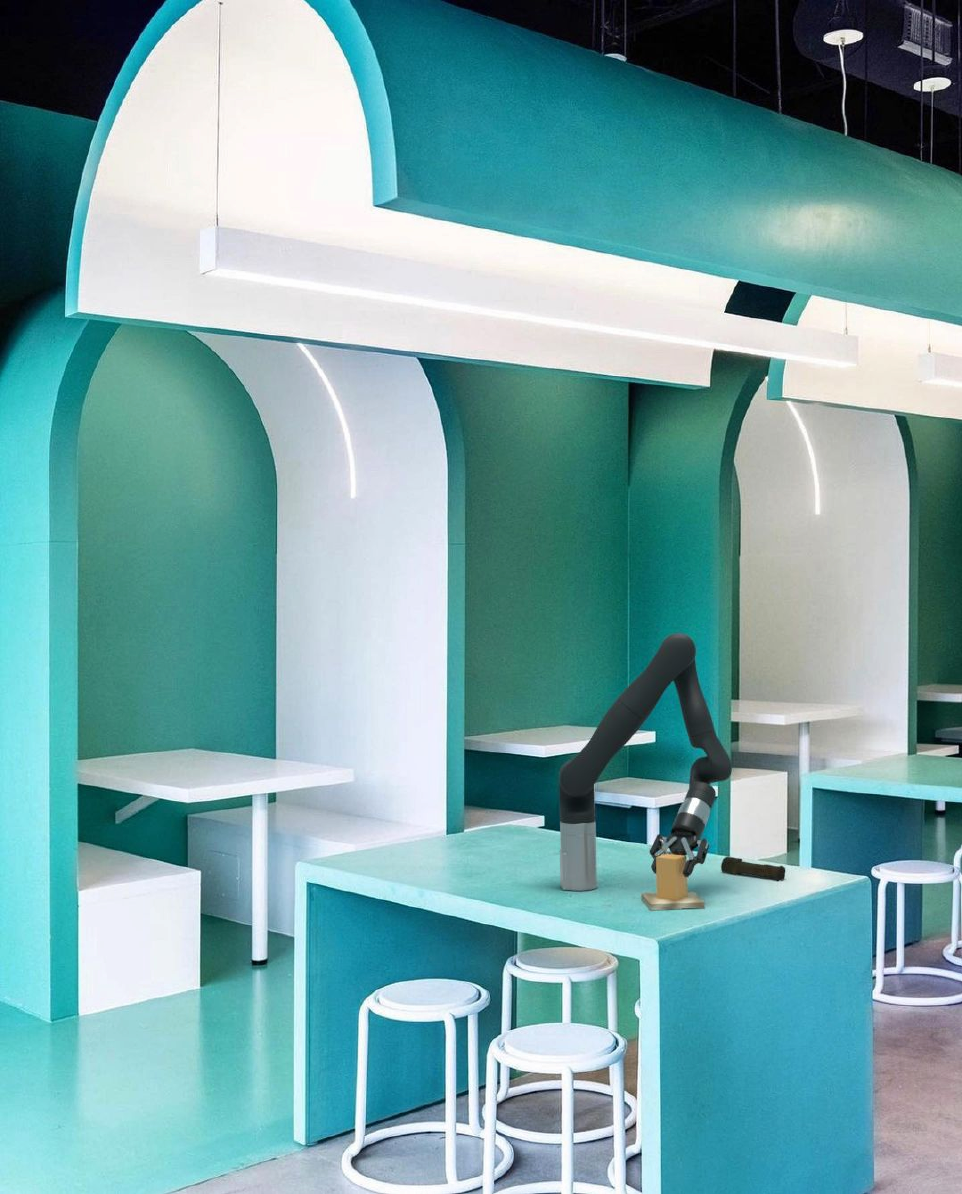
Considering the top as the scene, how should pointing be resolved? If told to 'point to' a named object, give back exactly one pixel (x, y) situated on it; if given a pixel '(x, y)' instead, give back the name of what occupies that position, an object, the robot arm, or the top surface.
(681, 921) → the top surface
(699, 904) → the post board
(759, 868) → the hand tool
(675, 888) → the tall orange pillar
